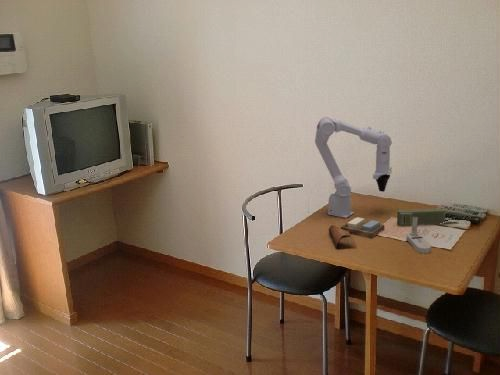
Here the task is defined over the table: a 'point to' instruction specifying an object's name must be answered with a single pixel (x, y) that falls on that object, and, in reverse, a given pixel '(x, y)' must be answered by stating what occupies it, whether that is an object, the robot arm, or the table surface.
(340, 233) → the sunglasses case
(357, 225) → the cream rectangular block
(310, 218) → the table surface
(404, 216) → the handheld radio
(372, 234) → the rack
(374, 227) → the light blue block
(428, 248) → the electronic device
